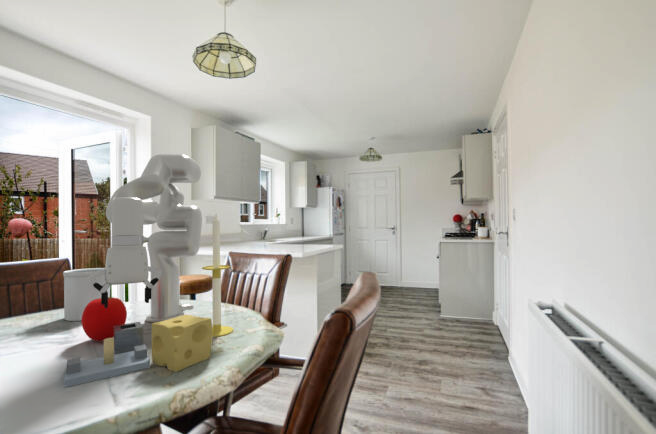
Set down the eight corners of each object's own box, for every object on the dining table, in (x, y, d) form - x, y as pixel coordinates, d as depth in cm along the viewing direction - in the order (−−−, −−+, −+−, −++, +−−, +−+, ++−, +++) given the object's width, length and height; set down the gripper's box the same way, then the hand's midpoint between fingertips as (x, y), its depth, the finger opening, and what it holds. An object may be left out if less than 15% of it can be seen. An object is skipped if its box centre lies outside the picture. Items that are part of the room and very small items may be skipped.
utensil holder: (87, 310, 135) (87, 267, 136) (120, 311, 133) (120, 267, 134) (52, 321, 121) (52, 272, 121) (89, 322, 118) (89, 272, 119)
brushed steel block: (139, 342, 97) (139, 321, 97) (142, 349, 92) (142, 326, 92) (113, 347, 93) (113, 325, 93) (115, 354, 88) (115, 331, 88)
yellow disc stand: (200, 339, 99) (199, 212, 100) (199, 329, 108) (198, 213, 109) (235, 334, 103) (234, 212, 103) (231, 325, 112) (230, 213, 113)
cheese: (175, 373, 76) (175, 329, 76) (149, 363, 82) (148, 322, 82) (213, 357, 85) (213, 317, 85) (186, 349, 91) (186, 312, 91)
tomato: (72, 343, 97) (72, 298, 97) (109, 332, 107) (109, 291, 107) (99, 348, 93) (99, 301, 93) (134, 335, 103) (134, 293, 103)
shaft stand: (144, 354, 87) (144, 327, 88) (150, 367, 79) (150, 337, 80) (66, 370, 78) (66, 340, 78) (64, 387, 70) (64, 353, 70)
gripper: (159, 241, 101) (159, 298, 100) (89, 242, 91) (88, 307, 90) (164, 241, 95) (164, 302, 94) (89, 243, 85) (88, 311, 84)
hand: (126, 304), depth 92 cm, fingers open, 9 cm apart
